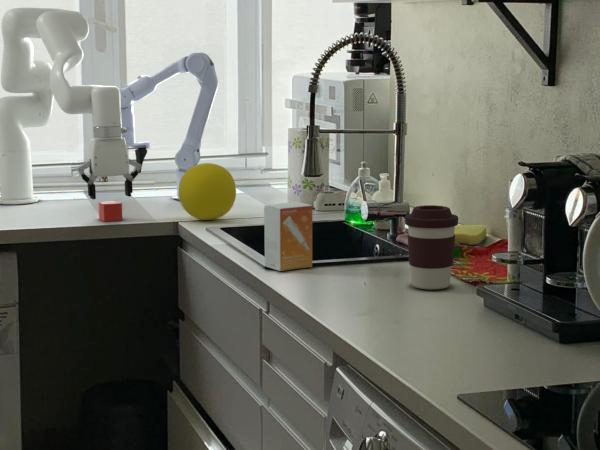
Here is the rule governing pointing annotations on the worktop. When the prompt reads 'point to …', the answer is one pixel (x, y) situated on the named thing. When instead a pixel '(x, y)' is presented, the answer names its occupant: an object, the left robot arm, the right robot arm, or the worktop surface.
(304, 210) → the small box
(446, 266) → the coffee cup
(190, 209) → the toy
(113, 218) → the red cube
